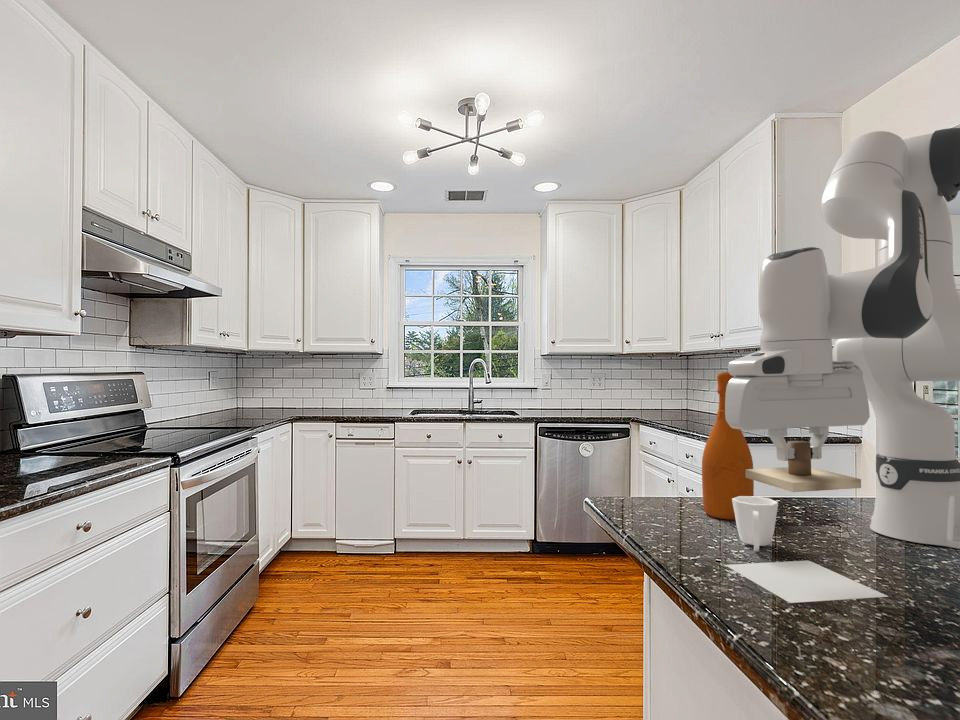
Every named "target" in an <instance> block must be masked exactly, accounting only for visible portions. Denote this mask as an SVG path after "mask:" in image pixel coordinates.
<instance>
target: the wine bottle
mask: <svg viewBox="0 0 960 720" xmlns="http://www.w3.org/2000/svg"><path fill="white" fill-rule="evenodd" d="M733 377H735V376H732V375H730V374H729V372H728V371H724V372H723V371H721V372H719V373H718V374H717V376H716V380H717V390H716V391H717V394H718V395H719V397H718V410H717V413H716V419H715V423H714V425H713V426H712V429H711V431H710V433H709V435H708V438H707V440H706V443H705V446H704V449H703V452H702V457H701V458H702V459H701V485H702V486H701V488H702V505H703V511H704V513H705V514H707V515H708V516H709V517H713V518H715V519H721V520H727V521H729V520H730V521H736V519H735V513H734V508H733V502H732V499H733V498H735V497H738V496H754V495H755V494H754V492H755V491H754V490H755V487H754V485H755V483H754V481H755V480H752V479H749V478H746V474H745V469H754V461H753V456H752V453H751V451H750V447H749V444H748V442H747V440H746V437H745V435H744V434H743V432H742V431H743V430H740V429H734V428H731V427H730V426H729V424H728V423H727V421H726V418H725V396H726V387H727V384H728V382H729V381H730V379H732V378H733Z"/></svg>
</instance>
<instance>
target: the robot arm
mask: <svg viewBox="0 0 960 720" xmlns="http://www.w3.org/2000/svg"><path fill="white" fill-rule="evenodd" d="M958 192H960V127H948V128H943V129H936V130H934V132H932V133H926V134H922V135H917V136H914V137H913V136H912V137H909V138H905V139H903V138H902V137H900V136H899V135H898V134H896V133H893V132H890V131H882V130H877V131H870V132H868V133H864V134H862V135H860V136H858V137H857V138H855V139H854V140H853V141H852V142H851V143H850V144H849V145H847V147H846V148H845V150H844V151H843V152H842V154H841V155H840V157H839V158H838V160H837V162H836V163H835V165H834V167H833V168H832V171H831V172H830V174H829V175H828V177H827V180H826V184H825V188H824V190H823V192H822V197H821V200H820V201H821V202H820V212H821V215H822V217H823V218H822V219H824V221H825V223H826V224H827V225H828V226H829V227H830V228H831V229H832V230H834V231H835V232H837V233H839V234H841V235H843V236H846V237H848V238H852V239H859V240H860V239H861V240H862V239H863V240H864V239H865V240H867V239H869V240H871V239H872V240H878V244H877V266H876V267H873V268H870V269H866V270H859V271H852V272H844V273H837V274H829V272H828V268H827V262H826V258H825V255H824V251H823V249H821V248H820V247H814V246H809V247H802V248H796V249H793V250H786V251H781V252H777V253H773V254H771V255H768V257H766V258H765V259H763V262H762V265H761V269H760V275H759V286H758V287H759V288H758V289H759V290H758V310H759V317H760V319H761V323H762V331H761V336H760V339H759V340H760V341H759V343H760V350H758V351H755V352H752V353H749V354H747V355H745V356H741V357H739V358H736V359H732V360H731V361H730V362H728V364H727V372H729V374H730V375H732V376H734V377H733V378H732V379H730V381H729V382H728V384H727V387H726V396H725V418H726V421H727V423H728V424H729V426H730V427H731V428H734V429H740V430H741V431H753V430H755V431H756V430H758V431H759V430H767V434H768V437H769V439H770V440H771V442H772V443H773V445H774V447H775V448H776V458H777V460H779V461H783V462H788V461H790V460H794V459H795V456H794V453H795V451H794V448H790V447H788V444H787V441H786V439H785V437H787V436H788V429H800V428H801V429H802V428H803V429H805V428H808V432H809V434H811V436H810V440H809V441H808V442H810V448H811V460H821V459H822V457H823V456H822V455H823V454H822V452H823V451H822V447H824V444H825V442H826V441H827V439H828V436H830V435H829V434H830V431H829V427H848V426H849V427H850V426H864V425H866V424H867V422H868V420H869V419H870V417H871V415H870V414H871V413H870V405H871V408H872V409H873V412H874V417H875V423H876V429H877V432H876V433H877V443H878V444H877V447H878V453H877V454H876V455H875V463H874V464H875V473H876V474H877V478H878V480H877V482H876V490H875V498H874V508H873V514H872V516H871V517H870V518H871V519H870V525H869V529H870V530H872V531H873V532H875V533H878V534H880V535H883V536H886V537H890V538H893V539H897V540H901V541H907V542H912V543H917V544H925V545H934V546H942V547H948V548H954V549H959V550H960V461H959V460H958V459H957V458H956V435H955V434H956V433H955V432H956V430H955V426H956V425H955V420H954V417H953V416H952V415H951V413H950V412H949V411H948V410H947V409H946V408H943V407H942V406H940V405H938V404H937V403H934V402H932V401H929V400H926V399H924V398H921V397H920V396H919V395H918V394H917V393H916V391H915V389H914V387H913V382H960V294H959V291H958V289H957V286H956V282H955V274H954V259H953V256H954V254H953V253H954V252H953V249H954V248H953V247H954V246H953V245H954V243H953V241H954V240H953V228H952V223H951V222H952V220H951V215H950V211H949V208H948V205H947V203H950V202H952V201H953V200H954V199H956V197H957V195H958V194H959V193H958ZM832 340H835V341H834V344H833V341H832ZM869 402H870V404H869Z"/></svg>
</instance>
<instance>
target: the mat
mask: <svg viewBox="0 0 960 720" xmlns="http://www.w3.org/2000/svg"><path fill="white" fill-rule="evenodd" d="M724 566H725V567H727V568H729V569H730V570H732V571H734V572H736V573H737V574H739V575H740V576H742V577H744V578H746V579H748V580H749V581H751V582H753V583H754V584H757V585H758V586H759V587H761V588H763V589H765V590H767V591H769V592H770V593H771V594H774V595H775V596H777V597H778V598H781V599H782V600H783V601H786V602H787V603H789V604H798V603H799V604H800V603H812V602H813V603H815V602H828V601H844V600H847V601H848V600H860V599H875V598H889V596H888V595H887V594H884V593H881V592H880V591H877V590H875V589H873V588H871V587H868V586H866V585H864V584H862V583H860V582H858V581H855V580H853V579H851V578H849V577H846V576H844V575H842V574H841V573H837V572H836V571H833V570H831V569H829V568H826V567H824V566H822V565H820V564H818V563H815V562H813V561H810V560H809V559H808V560H792V561H790V560H789V561H773V562H772V561H771V562H770V561H769V562H756V563H755V562H754V563H753V562H752V563H735V564H734V563H733V564H724Z"/></svg>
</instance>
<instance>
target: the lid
mask: <svg viewBox="0 0 960 720" xmlns="http://www.w3.org/2000/svg"><path fill="white" fill-rule="evenodd" d="M786 443H787V445H788V447H790V448H794V451H795V453H794V456H795V459H794V460H790V461H787V465H788V467H787V466H786V467H768V468H767V467H765V468H753V469H745V474H746V478H749V479H752V480H754V481H755V482H759V483H762V484H766V485H769V486H770V487H771V486H772V487H775V488H779V489H780V490H781V489H782V490H785V491H788V492H792V493H801V492H805V493H806V492H817V491H819V492H820V491H833V490H835V491H838V490H849V489H850V490H852V489H862V479H861V478H858V477H853V476H850V475H845V474H841V473H836V472H832V471H828V470H824V469H819V468H815V467H812V459H811V448H810V442H809V441H804V440H789V441H786Z"/></svg>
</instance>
